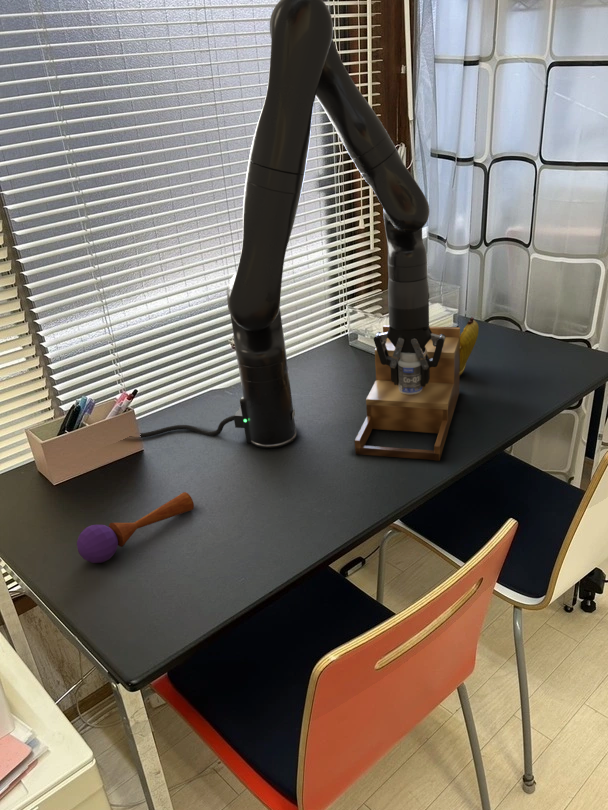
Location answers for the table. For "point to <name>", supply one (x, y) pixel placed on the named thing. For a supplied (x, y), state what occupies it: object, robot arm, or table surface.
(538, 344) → the table surface
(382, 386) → the stepped rack
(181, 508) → the kendama
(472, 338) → the banana bunch
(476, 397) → the table surface
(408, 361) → the pill bottle
